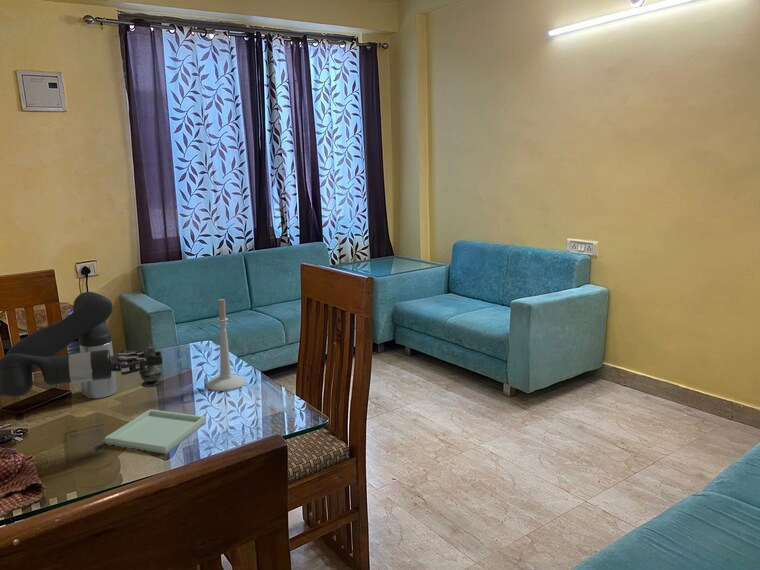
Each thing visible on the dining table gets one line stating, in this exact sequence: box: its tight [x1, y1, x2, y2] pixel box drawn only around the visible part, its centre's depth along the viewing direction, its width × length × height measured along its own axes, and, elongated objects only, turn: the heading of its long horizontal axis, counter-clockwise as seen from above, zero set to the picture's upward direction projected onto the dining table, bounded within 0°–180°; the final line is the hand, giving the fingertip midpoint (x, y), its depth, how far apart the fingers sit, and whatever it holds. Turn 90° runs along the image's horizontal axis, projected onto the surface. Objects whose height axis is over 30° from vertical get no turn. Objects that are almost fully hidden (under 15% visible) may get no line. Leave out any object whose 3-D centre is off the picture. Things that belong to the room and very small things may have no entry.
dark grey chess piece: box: [138, 340, 163, 389], centre depth 153 cm, size 6×6×12 cm
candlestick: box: [206, 297, 247, 392], centre depth 190 cm, size 13×13×30 cm
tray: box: [104, 408, 207, 455], centre depth 157 cm, size 19×19×2 cm
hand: (161, 357), depth 154 cm, fingers closed on dark grey chess piece, 3 cm apart
